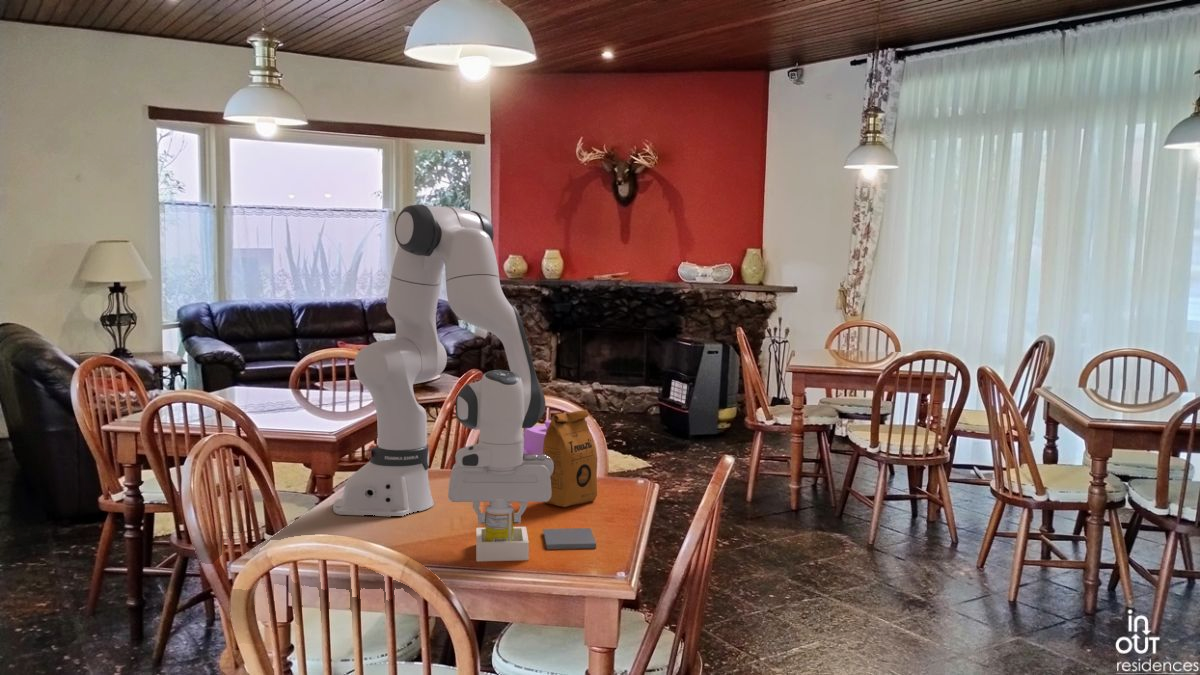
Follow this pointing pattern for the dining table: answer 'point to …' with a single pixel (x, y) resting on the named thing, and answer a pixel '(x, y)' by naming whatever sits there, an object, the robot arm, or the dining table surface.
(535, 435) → the teapot
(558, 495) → the coffee package
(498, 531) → the supplement bottle
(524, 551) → the pocket
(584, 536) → the coaster
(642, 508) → the dining table surface
